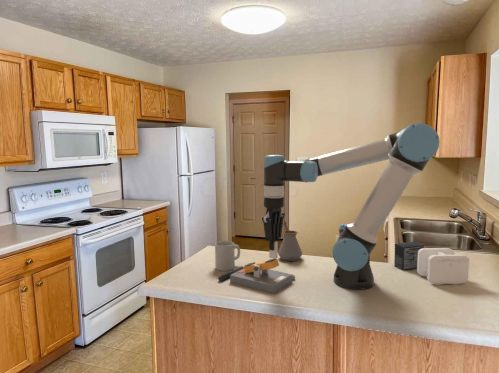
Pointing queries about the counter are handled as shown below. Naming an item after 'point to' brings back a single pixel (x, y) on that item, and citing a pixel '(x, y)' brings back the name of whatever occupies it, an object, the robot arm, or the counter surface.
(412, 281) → the counter surface
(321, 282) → the counter surface
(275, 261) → the lever
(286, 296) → the counter surface
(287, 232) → the coffee pot
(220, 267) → the mug
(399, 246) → the small box
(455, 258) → the cable organizer
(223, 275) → the black rounded bar
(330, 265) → the counter surface
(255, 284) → the panel
